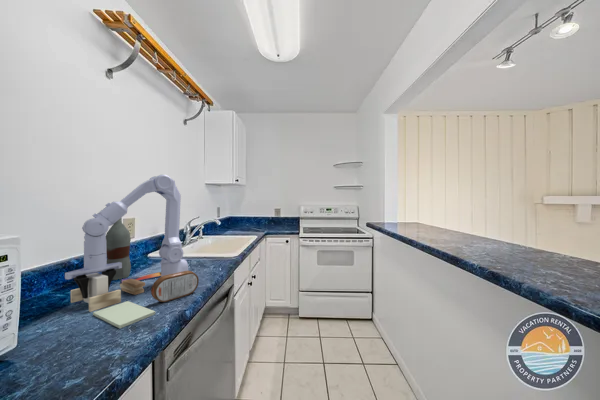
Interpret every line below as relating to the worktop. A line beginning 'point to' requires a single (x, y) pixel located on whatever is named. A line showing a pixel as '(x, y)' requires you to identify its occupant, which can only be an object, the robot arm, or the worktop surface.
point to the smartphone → (145, 277)
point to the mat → (124, 314)
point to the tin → (174, 286)
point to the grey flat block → (96, 285)
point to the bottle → (119, 248)
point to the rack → (98, 299)
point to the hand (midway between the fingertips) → (95, 294)
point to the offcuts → (132, 286)
